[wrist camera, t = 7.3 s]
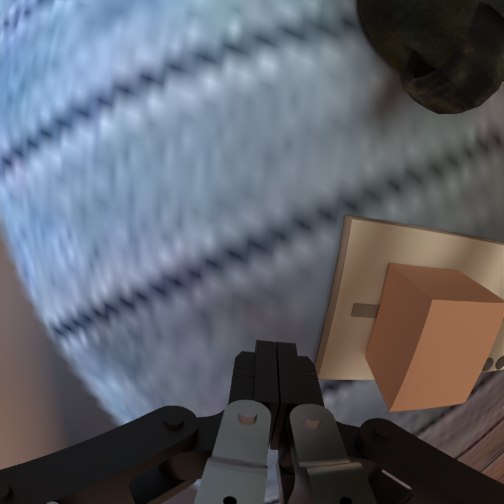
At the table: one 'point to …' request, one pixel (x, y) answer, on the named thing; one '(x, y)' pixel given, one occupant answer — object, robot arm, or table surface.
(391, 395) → the slider
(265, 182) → the table surface
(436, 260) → the count board
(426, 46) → the mug
